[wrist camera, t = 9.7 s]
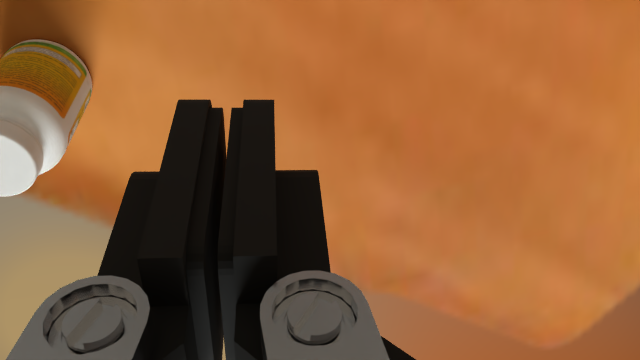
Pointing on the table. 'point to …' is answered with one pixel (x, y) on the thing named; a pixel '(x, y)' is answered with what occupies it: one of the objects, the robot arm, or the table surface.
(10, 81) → the supplement bottle
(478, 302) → the table surface
